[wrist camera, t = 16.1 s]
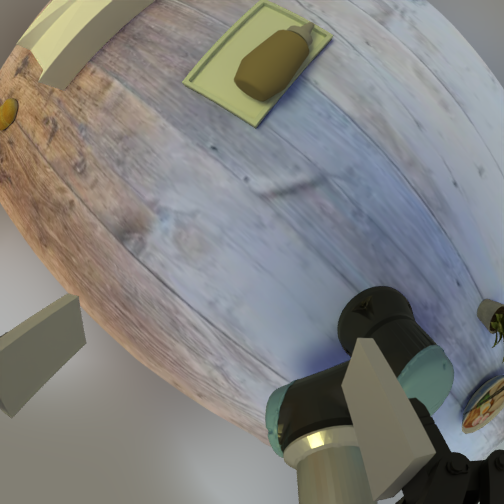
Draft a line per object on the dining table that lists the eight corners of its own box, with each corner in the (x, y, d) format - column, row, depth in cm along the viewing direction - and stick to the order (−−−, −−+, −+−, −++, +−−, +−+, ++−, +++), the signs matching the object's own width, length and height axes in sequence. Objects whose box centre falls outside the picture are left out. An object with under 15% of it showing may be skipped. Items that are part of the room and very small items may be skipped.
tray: (262, 3, 35) (262, -2, 33) (331, 39, 36) (333, 35, 34) (184, 85, 40) (181, 82, 38) (255, 128, 41) (255, 126, 39)
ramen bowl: (444, 431, 56) (453, 447, 48) (456, 385, 51) (469, 403, 43) (498, 398, 53) (508, 410, 45) (513, 349, 48) (527, 361, 40)
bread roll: (19, 117, 42) (9, 115, 38) (2, 134, 43) (-8, 134, 39) (19, 92, 40) (9, 90, 36) (1, 110, 41) (-8, 109, 37)
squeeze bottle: (220, 66, 32) (289, 1, 29) (234, 93, 40) (293, 30, 37) (267, 87, 31) (333, 17, 28) (274, 113, 39) (331, 47, 36)
